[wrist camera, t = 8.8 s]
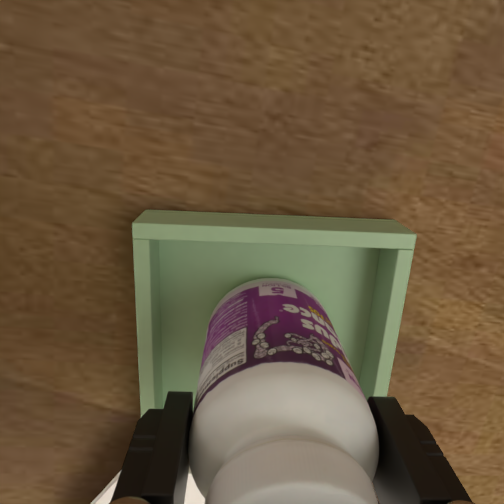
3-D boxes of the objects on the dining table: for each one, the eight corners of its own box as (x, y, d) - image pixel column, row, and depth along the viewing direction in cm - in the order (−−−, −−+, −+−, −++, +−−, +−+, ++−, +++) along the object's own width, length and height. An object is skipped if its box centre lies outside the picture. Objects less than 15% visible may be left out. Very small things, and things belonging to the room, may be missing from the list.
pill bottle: (353, 312, 17) (480, 528, 8) (284, 399, 19) (328, 667, 10) (249, 249, 16) (260, 416, 7) (183, 346, 18) (124, 590, 9)
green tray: (145, 209, 16) (131, 222, 14) (395, 219, 17) (417, 233, 14) (152, 417, 19) (142, 453, 17) (361, 421, 20) (376, 456, 18)
